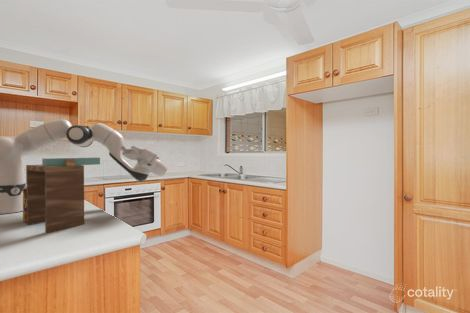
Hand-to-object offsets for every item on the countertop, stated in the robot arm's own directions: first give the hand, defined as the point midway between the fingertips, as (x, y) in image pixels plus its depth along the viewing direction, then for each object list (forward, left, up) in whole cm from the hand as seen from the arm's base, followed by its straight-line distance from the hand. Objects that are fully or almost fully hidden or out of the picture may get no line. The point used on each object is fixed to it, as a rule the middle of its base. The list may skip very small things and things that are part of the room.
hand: (126, 147), depth 132 cm
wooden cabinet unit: (-5, -31, -34) cm, 47 cm away
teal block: (0, -26, -8) cm, 27 cm away
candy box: (-20, -33, -35) cm, 52 cm away
